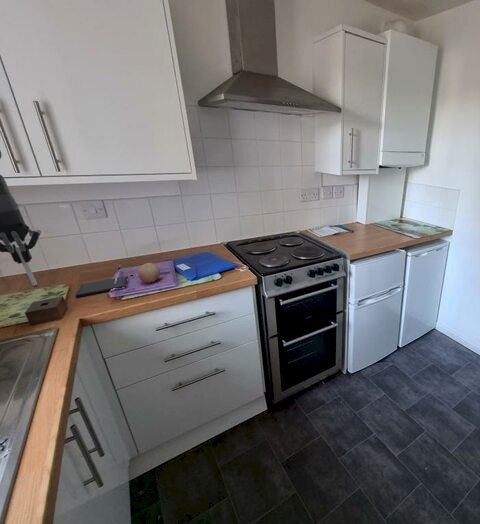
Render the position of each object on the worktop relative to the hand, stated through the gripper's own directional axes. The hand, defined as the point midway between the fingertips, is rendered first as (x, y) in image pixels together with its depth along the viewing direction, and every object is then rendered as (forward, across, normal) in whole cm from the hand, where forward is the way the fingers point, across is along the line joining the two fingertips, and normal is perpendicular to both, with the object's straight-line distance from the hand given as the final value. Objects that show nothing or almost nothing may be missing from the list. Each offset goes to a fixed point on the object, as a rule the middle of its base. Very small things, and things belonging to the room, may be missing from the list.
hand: (24, 262), depth 96 cm
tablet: (+21, +13, +17) cm, 30 cm away
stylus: (+9, 0, 0) cm, 9 cm away
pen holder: (+21, 0, 0) cm, 21 cm away
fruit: (+21, +30, +14) cm, 39 cm away
